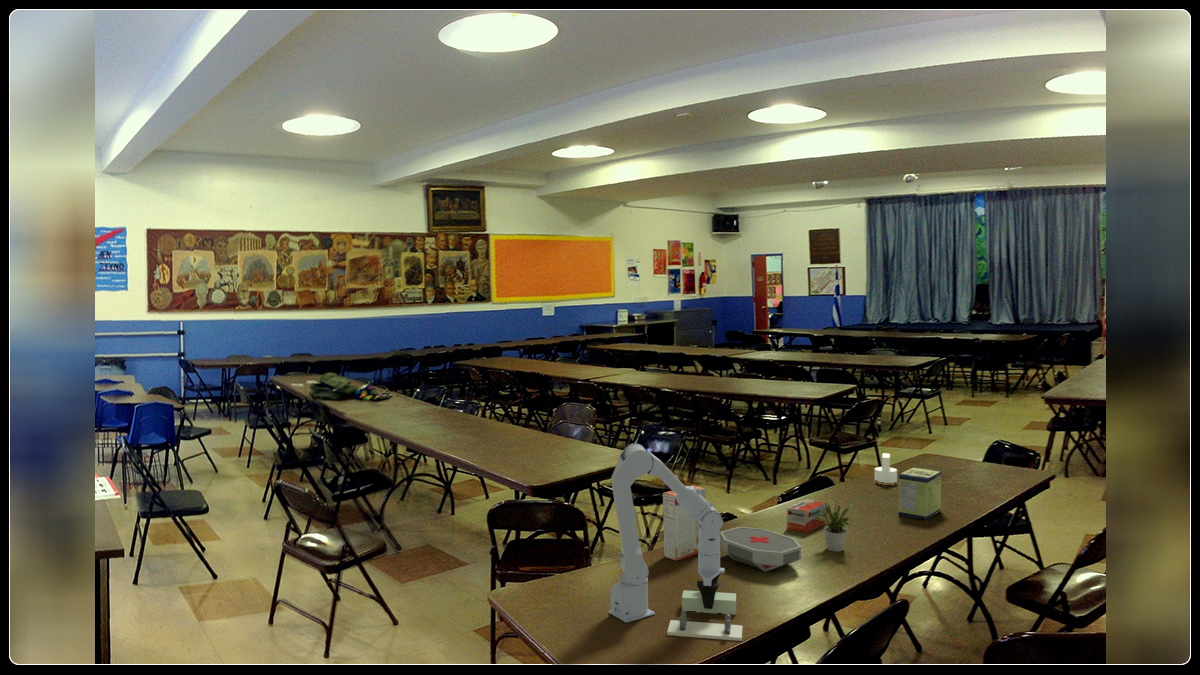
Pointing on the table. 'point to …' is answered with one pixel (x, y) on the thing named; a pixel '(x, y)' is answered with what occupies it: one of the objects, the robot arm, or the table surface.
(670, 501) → the cracker box
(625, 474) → the robot arm
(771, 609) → the table surface
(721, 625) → the peg stand
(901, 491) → the protein box
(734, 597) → the pale green block
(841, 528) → the house plant
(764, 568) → the first aid kit
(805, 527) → the medicine box
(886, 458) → the cylinder with rectangular tab
